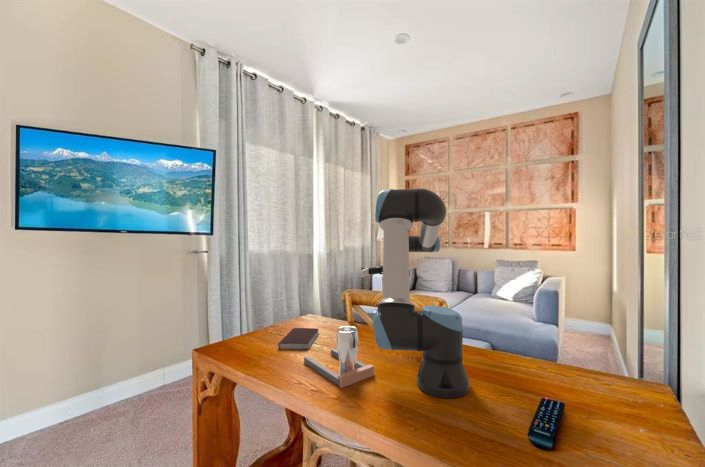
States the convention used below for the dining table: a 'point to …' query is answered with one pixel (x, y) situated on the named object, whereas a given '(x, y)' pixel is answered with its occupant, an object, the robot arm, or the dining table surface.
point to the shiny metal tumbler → (347, 348)
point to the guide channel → (346, 378)
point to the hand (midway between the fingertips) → (378, 274)
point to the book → (299, 339)
